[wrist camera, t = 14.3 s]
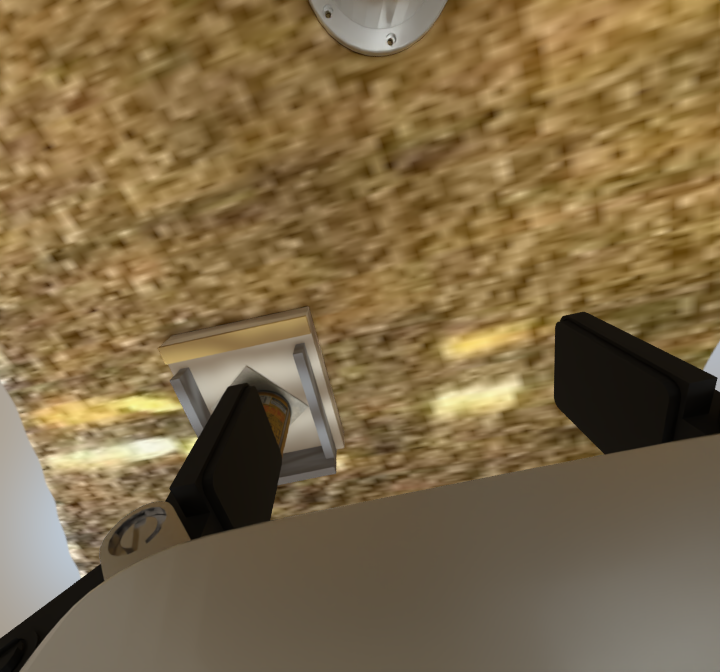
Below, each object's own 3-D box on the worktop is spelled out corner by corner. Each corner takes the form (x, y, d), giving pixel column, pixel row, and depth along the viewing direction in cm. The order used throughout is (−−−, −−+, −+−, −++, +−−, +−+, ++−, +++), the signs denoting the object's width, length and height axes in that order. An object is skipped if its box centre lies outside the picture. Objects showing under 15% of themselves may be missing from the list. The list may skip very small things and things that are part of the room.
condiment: (272, 444, 42) (248, 533, 31) (211, 408, 40) (162, 491, 29) (308, 405, 40) (296, 486, 29) (246, 364, 38) (208, 436, 27)
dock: (172, 335, 39) (139, 364, 33) (308, 306, 39) (302, 329, 32) (227, 455, 46) (209, 498, 40) (344, 432, 46) (344, 471, 39)
